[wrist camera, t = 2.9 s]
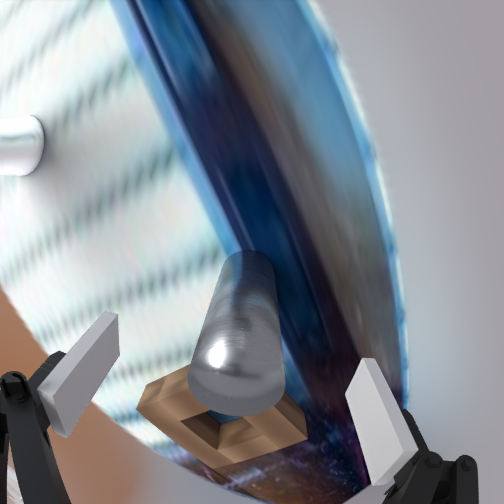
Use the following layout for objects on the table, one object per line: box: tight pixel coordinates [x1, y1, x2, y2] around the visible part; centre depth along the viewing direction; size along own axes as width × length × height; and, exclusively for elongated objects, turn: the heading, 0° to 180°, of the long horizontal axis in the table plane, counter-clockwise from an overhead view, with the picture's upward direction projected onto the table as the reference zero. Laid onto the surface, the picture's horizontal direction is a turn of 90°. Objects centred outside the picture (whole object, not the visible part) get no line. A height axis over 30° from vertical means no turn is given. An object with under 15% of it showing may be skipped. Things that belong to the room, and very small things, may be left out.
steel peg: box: [187, 250, 286, 416], centre depth 19 cm, size 4×4×13 cm
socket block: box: [136, 365, 308, 468], centre depth 27 cm, size 12×12×4 cm
